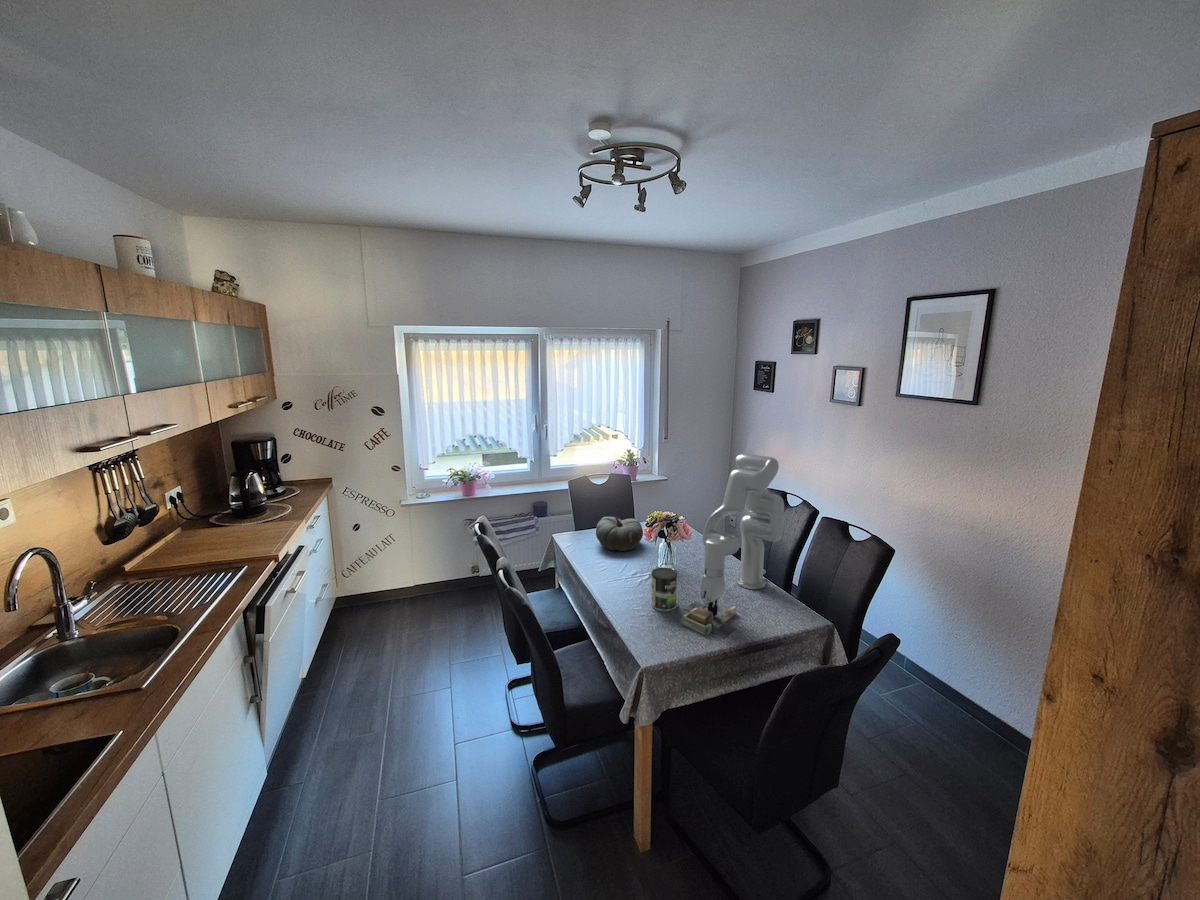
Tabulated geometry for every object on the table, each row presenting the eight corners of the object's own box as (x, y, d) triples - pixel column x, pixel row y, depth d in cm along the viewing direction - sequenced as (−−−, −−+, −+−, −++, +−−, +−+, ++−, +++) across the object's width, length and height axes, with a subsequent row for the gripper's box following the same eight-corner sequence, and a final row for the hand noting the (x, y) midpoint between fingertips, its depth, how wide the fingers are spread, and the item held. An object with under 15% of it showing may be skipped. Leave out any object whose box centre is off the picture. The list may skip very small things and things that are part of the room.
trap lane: (700, 598, 199) (700, 592, 199) (748, 618, 184) (749, 611, 183) (669, 618, 185) (669, 611, 184) (719, 641, 170) (719, 634, 169)
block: (699, 618, 185) (699, 606, 184) (712, 624, 181) (713, 612, 180) (690, 624, 181) (690, 612, 180) (703, 631, 177) (704, 618, 176)
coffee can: (681, 606, 194) (682, 573, 191) (663, 614, 188) (663, 581, 185) (664, 596, 202) (664, 565, 199) (645, 603, 196) (646, 571, 193)
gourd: (590, 534, 266) (595, 505, 261) (633, 537, 271) (639, 509, 266) (597, 556, 242) (603, 525, 237) (644, 560, 247) (651, 530, 243)
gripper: (716, 561, 190) (714, 603, 194) (694, 573, 180) (693, 618, 183) (733, 567, 185) (731, 610, 188) (711, 580, 175) (710, 625, 178)
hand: (712, 614), depth 186 cm, fingers closed
